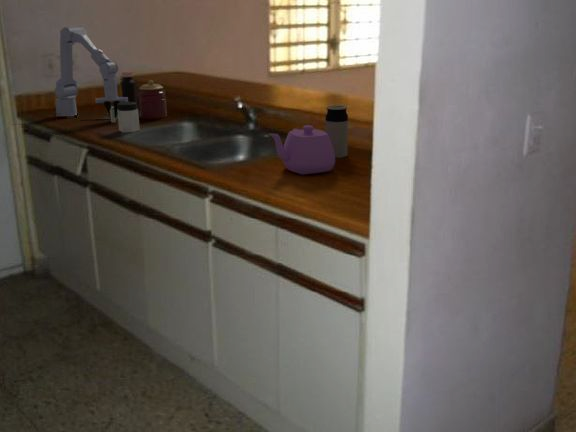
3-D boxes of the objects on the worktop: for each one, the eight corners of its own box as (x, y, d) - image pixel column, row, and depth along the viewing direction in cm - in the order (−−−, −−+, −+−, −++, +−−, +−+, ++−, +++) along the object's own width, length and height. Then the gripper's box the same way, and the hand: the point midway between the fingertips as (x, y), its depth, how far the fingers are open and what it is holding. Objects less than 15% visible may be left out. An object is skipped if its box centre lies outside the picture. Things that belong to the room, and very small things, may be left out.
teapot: (314, 159, 243) (314, 117, 238) (342, 173, 225) (342, 128, 220) (255, 166, 235) (253, 123, 230) (278, 181, 216) (278, 135, 211)
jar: (117, 130, 298) (114, 102, 294) (135, 127, 302) (132, 101, 298) (123, 133, 291) (121, 105, 287) (141, 131, 295) (139, 103, 291)
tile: (111, 122, 313) (109, 109, 312) (112, 119, 321) (111, 106, 319) (114, 122, 314) (113, 109, 312) (116, 119, 321) (115, 106, 319)
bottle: (121, 113, 337) (117, 72, 331) (128, 111, 343) (124, 71, 337) (133, 114, 335) (129, 73, 329) (140, 111, 341) (136, 71, 335)
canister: (152, 120, 318) (149, 82, 312) (134, 117, 326) (130, 80, 320) (172, 116, 328) (170, 79, 322) (154, 113, 335) (151, 77, 330)
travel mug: (349, 157, 244) (350, 108, 238) (327, 158, 243) (328, 108, 237) (344, 152, 252) (345, 104, 246) (323, 153, 251) (323, 105, 245)
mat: (80, 120, 320) (80, 119, 320) (84, 115, 334) (84, 114, 333) (119, 119, 323) (119, 118, 323) (122, 113, 336) (121, 113, 336)
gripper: (93, 90, 308) (96, 119, 312) (125, 89, 310) (128, 118, 314) (95, 87, 314) (98, 117, 319) (127, 86, 316) (129, 115, 321)
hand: (113, 117), depth 317 cm, fingers closed on tile, 2 cm apart
